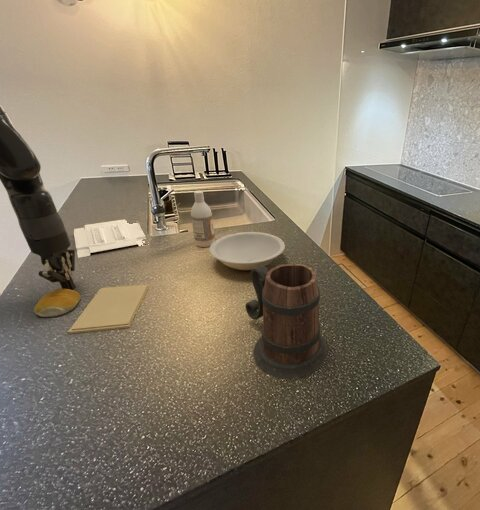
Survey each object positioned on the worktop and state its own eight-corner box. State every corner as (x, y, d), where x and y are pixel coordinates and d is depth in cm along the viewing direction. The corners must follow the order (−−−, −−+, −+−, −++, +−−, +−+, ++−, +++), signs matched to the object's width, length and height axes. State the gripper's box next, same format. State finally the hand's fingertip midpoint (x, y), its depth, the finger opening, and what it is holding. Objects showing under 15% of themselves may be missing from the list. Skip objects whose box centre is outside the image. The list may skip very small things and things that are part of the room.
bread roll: (85, 294, 82) (80, 282, 81) (72, 314, 75) (67, 301, 73) (46, 299, 79) (40, 286, 78) (29, 320, 72) (23, 306, 70)
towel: (68, 334, 69) (67, 330, 69) (100, 290, 85) (99, 287, 84) (128, 327, 72) (128, 324, 72) (149, 286, 88) (148, 283, 87)
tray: (78, 258, 99) (74, 247, 97) (74, 231, 118) (70, 222, 116) (150, 244, 111) (147, 235, 109) (135, 222, 130) (133, 214, 128)
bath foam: (213, 247, 112) (207, 194, 103) (193, 247, 111) (185, 194, 102) (216, 239, 119) (210, 189, 109) (197, 239, 117) (190, 188, 108)
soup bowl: (267, 243, 119) (266, 227, 116) (297, 270, 103) (297, 252, 100) (202, 256, 106) (200, 239, 103) (225, 289, 89) (223, 270, 86)
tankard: (342, 347, 72) (349, 274, 63) (290, 393, 60) (290, 311, 51) (275, 305, 84) (273, 240, 75) (220, 336, 72) (210, 263, 63)
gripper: (40, 221, 78) (65, 278, 86) (8, 244, 67) (39, 307, 75) (75, 220, 80) (96, 276, 88) (49, 241, 69) (75, 303, 77)
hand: (69, 290), depth 82 cm, fingers closed
